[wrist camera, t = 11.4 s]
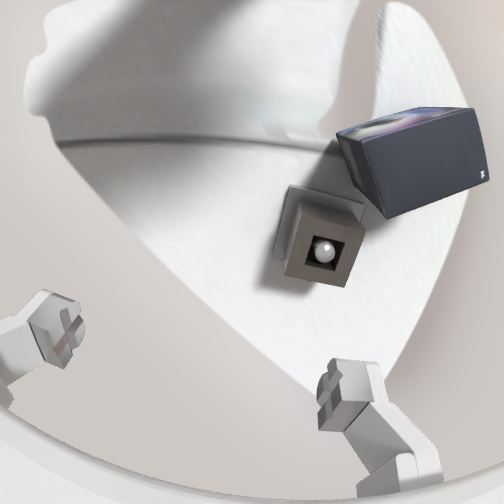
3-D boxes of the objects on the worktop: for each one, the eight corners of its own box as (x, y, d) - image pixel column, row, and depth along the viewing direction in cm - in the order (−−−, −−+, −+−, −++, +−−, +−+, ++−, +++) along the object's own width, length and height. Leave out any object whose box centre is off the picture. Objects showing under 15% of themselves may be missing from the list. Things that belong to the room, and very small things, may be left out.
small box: (420, 102, 24) (477, 103, 15) (436, 159, 27) (493, 183, 17) (332, 130, 27) (360, 138, 17) (354, 189, 29) (387, 225, 20)
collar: (297, 198, 29) (301, 215, 25) (353, 212, 29) (365, 231, 25) (283, 251, 32) (284, 275, 27) (335, 263, 32) (344, 287, 27)
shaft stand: (290, 184, 30) (293, 200, 24) (362, 203, 30) (379, 223, 24) (272, 253, 33) (271, 281, 28) (340, 268, 33) (350, 297, 28)
